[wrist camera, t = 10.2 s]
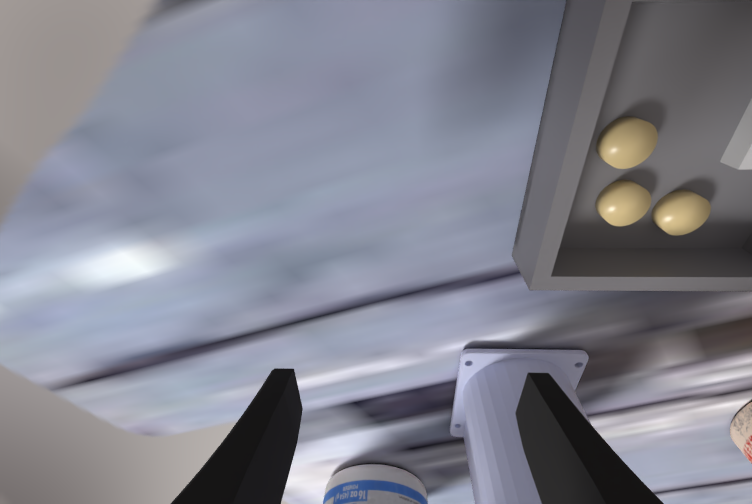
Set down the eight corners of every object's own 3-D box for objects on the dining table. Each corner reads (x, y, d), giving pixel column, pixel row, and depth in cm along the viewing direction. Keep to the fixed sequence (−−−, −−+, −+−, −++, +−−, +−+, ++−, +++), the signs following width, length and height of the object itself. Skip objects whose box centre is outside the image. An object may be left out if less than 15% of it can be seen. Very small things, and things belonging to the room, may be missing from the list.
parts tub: (741, 255, 19) (795, 291, 16) (511, 255, 19) (529, 290, 17) (922, -32, 13) (1056, -46, 10) (571, -21, 13) (614, -32, 11)
